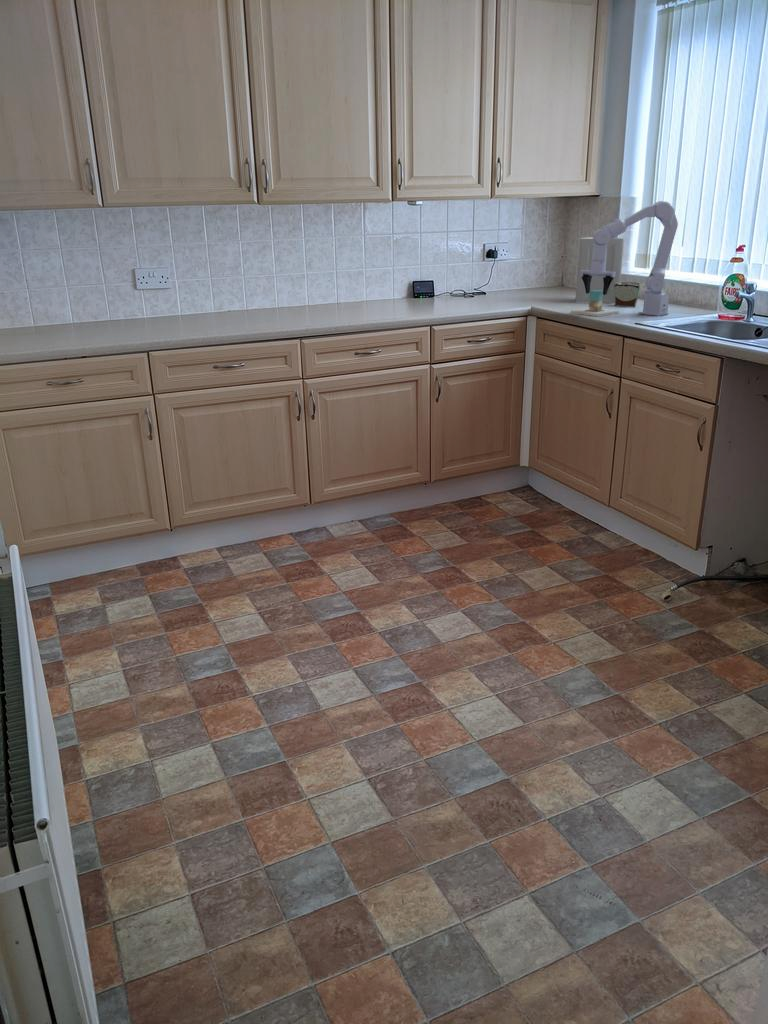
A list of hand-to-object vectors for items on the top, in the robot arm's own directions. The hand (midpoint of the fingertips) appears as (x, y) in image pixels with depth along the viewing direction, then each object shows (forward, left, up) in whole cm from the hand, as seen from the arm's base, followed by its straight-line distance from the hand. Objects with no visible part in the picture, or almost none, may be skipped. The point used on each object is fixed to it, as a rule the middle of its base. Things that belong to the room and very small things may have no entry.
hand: (596, 293), depth 349 cm
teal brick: (0, 0, -3) cm, 3 cm away
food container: (+5, -30, -8) cm, 31 cm away
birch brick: (0, 0, -7) cm, 7 cm away
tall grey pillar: (+24, -32, -8) cm, 41 cm away
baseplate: (0, 0, -8) cm, 8 cm away
